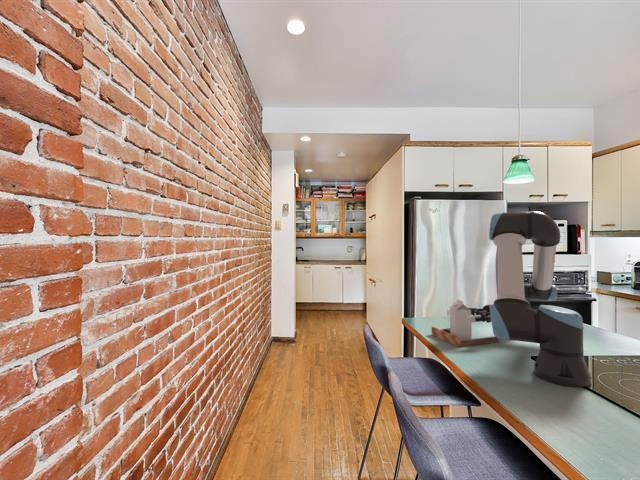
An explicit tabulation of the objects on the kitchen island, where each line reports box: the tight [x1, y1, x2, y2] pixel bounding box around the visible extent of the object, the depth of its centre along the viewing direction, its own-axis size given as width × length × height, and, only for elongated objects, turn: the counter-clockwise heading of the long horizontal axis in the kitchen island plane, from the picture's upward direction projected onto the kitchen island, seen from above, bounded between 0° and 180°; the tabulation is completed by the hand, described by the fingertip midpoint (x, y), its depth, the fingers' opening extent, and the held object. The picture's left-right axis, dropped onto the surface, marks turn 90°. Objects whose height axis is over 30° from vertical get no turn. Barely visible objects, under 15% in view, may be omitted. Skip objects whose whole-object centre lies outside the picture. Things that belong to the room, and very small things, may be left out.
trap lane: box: [431, 326, 500, 348], centre depth 145 cm, size 19×22×4 cm
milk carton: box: [449, 298, 473, 341], centre depth 141 cm, size 7×7×19 cm
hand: (457, 316), depth 141 cm, fingers open, 13 cm apart
